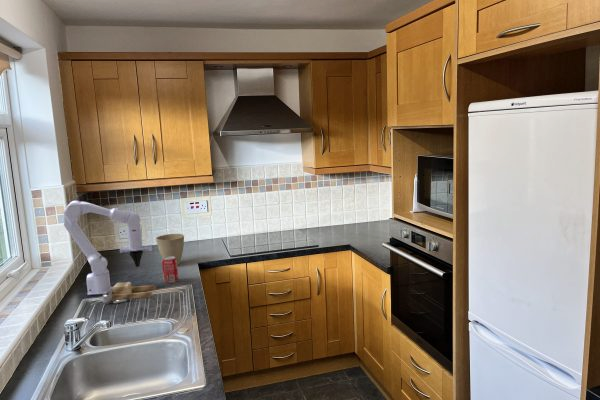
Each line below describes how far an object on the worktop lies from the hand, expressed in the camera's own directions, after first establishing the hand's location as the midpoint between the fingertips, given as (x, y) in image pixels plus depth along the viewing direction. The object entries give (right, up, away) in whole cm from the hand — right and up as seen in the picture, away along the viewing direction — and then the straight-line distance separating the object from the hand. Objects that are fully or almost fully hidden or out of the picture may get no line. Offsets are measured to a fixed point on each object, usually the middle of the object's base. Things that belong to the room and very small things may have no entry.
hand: (137, 266), depth 215 cm
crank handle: (-1, -13, -18) cm, 23 cm away
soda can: (+14, -9, +7) cm, 18 cm away
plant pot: (+7, -4, +35) cm, 36 cm away
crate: (-3, -12, -10) cm, 15 cm away
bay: (+1, -11, -9) cm, 15 cm away
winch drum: (-6, -13, -18) cm, 23 cm away
